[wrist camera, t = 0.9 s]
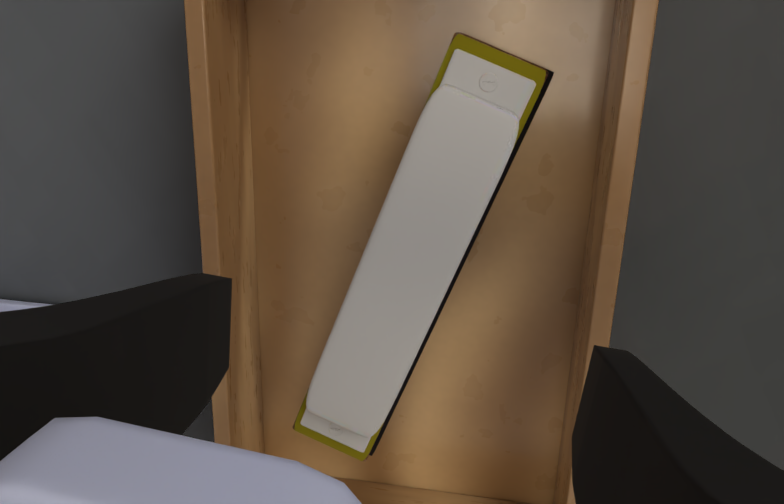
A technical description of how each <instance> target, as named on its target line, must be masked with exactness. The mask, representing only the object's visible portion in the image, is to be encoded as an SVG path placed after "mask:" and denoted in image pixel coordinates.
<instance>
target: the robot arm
mask: <svg viewBox="0 0 784 504" xmlns="http://www.w3.org/2000/svg"><path fill="white" fill-rule="evenodd" d="M231 299H232V278H227V277H222V276H216V275H211V274H205V273H201V274H191V275H185V276H180V277H176V278H171V279H167V280H163V281H159V282H154V283H150V284H146V285H142V286H138V287H134V288H130V289H126V290H122V291H118V292H114V293H109V294H104V295H100V296H95V297H91V298H86V299H81V300H77V301H72V302H67V303H61V304H55V305H54V304H44V303H34V302H24V301H15V300H5V299H0V504H362V503H361V502H360V501H359V500H358V499H357V497H356V496H355V495H354V494H353V493H352V491H351V490H350V489H349V488H348V487H347V486H346V484H345V483H343V482H341V481H339V480H337V479H335V478H332V477H330V476H328V475H326V474H324V473H322V472H320V471H317V470H315V469H313V468H311V467H309V466H307V465H304V464H302V463H300V462H298V461H294V460H290V459H285V458H281V457H276V456H272V455H267V454H263V453H258V452H254V451H249V450H245V449H240V448H236V447H232V446H227V445H223V444H218V443H214V442H209V441H205V440H200V439H196V438H191V437H187V436H182V434H183V433H184V432H185V430H186V429H187V428H188V427H189V426H190V424H191V423H192V422H193V421H194V420H195V418H196V417H197V416H198V415H199V414H200V412H201V411H202V410H203V409H204V407H205V406H206V405H207V403H208V402H209V400H210V399H211V397H212V396H213V394H214V392H215V391H216V389H217V388H218V386H219V384H220V382H221V381H222V379H223V377H224V376H225V374H226V372H227V370H228V369H229V360H230V329H231ZM572 483H573V490H574V496H575V502H576V504H784V471H783V470H781V469H780V468H778V467H776V466H775V465H773V464H772V463H770V462H768V461H767V460H765V459H764V458H762V457H761V456H759V455H758V454H756V453H755V452H753V451H751V450H750V449H748V448H747V447H745V446H744V445H742V444H741V443H739V442H738V441H737V440H735V439H734V438H732V437H731V436H730V435H728V434H727V433H726V432H724V431H723V430H722V429H720V428H719V427H718V426H716V425H715V424H714V423H713V422H711V421H710V420H709V419H707V418H706V417H705V416H703V415H702V414H701V413H700V412H699V411H697V410H696V409H695V408H694V407H692V406H691V405H690V404H689V403H688V402H687V401H685V400H684V399H683V398H682V397H681V396H680V395H678V394H677V393H676V392H675V391H674V390H673V389H672V388H670V387H669V386H668V385H667V384H666V383H665V382H664V381H663V380H662V379H660V378H659V377H658V376H657V375H656V374H655V373H654V372H653V371H652V370H650V369H649V368H648V367H647V366H646V365H645V364H644V363H642V362H641V361H640V360H639V359H638V358H637V357H635V356H634V355H633V354H631V353H630V352H628V351H624V350H618V349H613V348H608V347H602V346H597V345H594V347H593V351H592V355H591V359H590V364H589V368H588V372H587V376H586V380H585V384H584V388H583V392H582V396H581V401H580V405H579V409H578V413H577V417H576V421H575V425H574V429H573V433H572Z"/></svg>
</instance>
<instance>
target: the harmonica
mask: <svg viewBox="0 0 784 504" xmlns="http://www.w3.org/2000/svg"><path fill="white" fill-rule="evenodd" d="M553 74H554V72H553V71H550V70H548V69H545V68H543V67H541V66H538V65H536V64H534V63H531V62H529V61H527V60H524V59H522V58H520V57H517V56H515V55H513V54H510V53H508V52H506V51H503V50H501V49H499V48H496V47H494V46H492V45H489V44H487V43H485V42H482V41H480V40H478V39H475V38H473V37H471V36H468V35H466V34H464V33H460V32H456V33H454V35H453V38H452V40H451V43H450V45H449V48H448V50H447V52H446V55H445V57H444V60H443V62H442V65H441V67H440V69H439V72H438V74H437V77H436V79H435V82H434V84H433V86H432V89H431V91H430V94H429V96H428V99H427V101H426V104H425V106H424V108H423V111H422V113H421V115H420V117H419V120H418V122H417V124H416V126H415V128H414V131H413V133H412V135H411V138H410V140H409V143H408V145H407V147H406V150H405V152H404V155H403V157H402V160H401V162H400V164H399V167H398V169H397V172H396V174H395V177H394V179H393V182H392V184H391V186H390V189H389V191H388V194H387V196H386V199H385V201H384V203H383V206H382V208H381V211H380V213H379V216H378V218H377V221H376V223H375V225H374V228H373V230H372V233H371V235H370V238H369V240H368V243H367V245H366V247H365V250H364V252H363V255H362V257H361V260H360V262H359V265H358V267H357V269H356V272H355V274H354V277H353V279H352V282H351V284H350V286H349V289H348V291H347V294H346V296H345V299H344V301H343V304H342V306H341V308H340V311H339V313H338V316H337V318H336V321H335V323H334V326H333V328H332V330H331V333H330V335H329V338H328V340H327V343H326V345H325V348H324V350H323V352H322V355H321V357H320V360H319V362H318V365H317V367H316V370H315V372H314V375H313V378H312V380H311V383H310V386H309V388H308V390H307V393H306V395H305V398H304V400H303V403H302V405H301V407H300V410H299V412H298V415H297V417H296V420H295V422H294V424H293V429H294V430H295V431H297V432H299V433H301V434H303V435H306V436H308V437H310V438H312V439H314V440H317V441H319V442H321V443H323V444H325V445H327V446H330V447H332V448H334V449H336V450H338V451H341V452H343V453H345V454H347V455H349V456H351V457H354V458H356V459H358V460H360V461H366V460H367V458H368V456H369V455H370V456H372V455H373V453H374V452H375V450H376V448H377V446H378V444H379V442H380V440H381V438H382V435H383V433H384V431H385V429H386V427H387V425H388V423H389V421H390V419H391V417H392V414H393V412H394V410H395V408H396V406H397V404H398V402H399V400H400V398H401V396H402V393H403V391H404V389H405V387H406V385H407V383H408V381H409V379H410V377H411V375H412V372H413V370H414V368H415V366H416V364H417V362H418V360H419V358H420V356H421V354H422V351H423V349H424V347H425V345H426V343H427V341H428V339H429V337H430V335H431V333H432V330H433V328H434V326H435V324H436V322H437V320H438V318H439V316H440V314H441V312H442V309H443V307H444V305H445V303H446V301H447V299H448V297H449V295H450V293H451V290H452V288H453V286H454V284H455V282H456V280H457V278H458V276H459V274H460V272H461V269H462V267H463V265H464V263H465V261H466V259H467V257H468V255H469V253H470V251H471V248H472V246H473V244H474V242H475V240H476V238H477V236H478V234H479V232H480V230H481V227H482V225H483V223H484V221H485V219H486V217H487V215H488V213H489V211H490V209H491V206H492V204H493V202H494V200H495V198H496V196H497V194H498V192H499V190H500V188H501V185H502V183H503V181H504V179H505V177H506V175H507V173H508V171H509V169H510V167H511V164H512V162H513V160H514V158H515V156H516V154H517V152H518V150H519V148H520V146H521V143H522V141H523V139H524V137H525V135H526V133H527V131H528V129H529V127H530V125H531V122H532V120H533V118H534V116H535V114H536V112H537V110H538V108H539V106H540V104H541V101H542V99H543V97H544V95H545V93H546V91H547V89H548V86H549V84H550V82H551V79H552V77H553Z"/></svg>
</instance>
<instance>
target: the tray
mask: <svg viewBox="0 0 784 504" xmlns="http://www.w3.org/2000/svg"><path fill="white" fill-rule="evenodd" d="M658 3H659V0H184V8H185V22H186V36H187V51H188V65H189V80H190V94H191V108H192V123H193V137H194V152H195V166H196V180H197V195H198V209H199V224H200V238H201V252H202V267H203V273H205V274H211V275H216V276H222V277H227V278H232V299H231V329H230V360H229V369H228V370H227V372H226V374H225V376H224V377H223V379H222V381H221V382H220V384H219V386H218V388H217V389H216V391H215V392H214V394H213V396H212V411H213V425H214V440H215V443H218V444H223V445H227V446H232V447H236V448H240V449H245V450H249V451H254V452H258V453H263V454H267V455H272V456H276V457H281V458H285V459H290V460H294V461H298V462H300V463H302V464H304V465H307V466H309V467H311V468H313V469H315V470H317V471H320V472H322V473H324V474H326V475H328V476H330V477H332V478H335V479H337V480H339V481H341V482H343V483H345V484H346V486H347V487H348V488H349V489H350V490H351V491H352V493H353V494H354V495H355V496H356V497H357V499H358V500H359V501H360V502H361V503H362V504H576V502H575V496H574V490H573V483H572V433H573V429H574V425H575V421H576V417H577V413H578V409H579V405H580V401H581V396H582V392H583V388H584V384H585V380H586V376H587V372H588V368H589V364H590V359H591V355H592V351H593V347H594V345H597V346H602V347H608V348H609V342H610V335H611V328H612V321H613V314H614V307H615V300H616V294H617V287H618V280H619V273H620V266H621V259H622V252H623V245H624V238H625V231H626V224H627V218H628V211H629V204H630V197H631V190H632V183H633V176H634V169H635V162H636V155H637V148H638V141H639V135H640V128H641V121H642V114H643V107H644V100H645V93H646V86H647V79H648V72H649V65H650V59H651V52H652V45H653V38H654V31H655V24H656V17H657V10H658ZM456 32H460V33H464V34H466V35H468V36H471V37H473V38H475V39H478V40H480V41H482V42H485V43H487V44H489V45H492V46H494V47H496V48H499V49H501V50H503V51H506V52H508V53H510V54H513V55H515V56H517V57H520V58H522V59H524V60H527V61H529V62H531V63H534V64H536V65H538V66H541V67H543V68H545V69H548V70H550V71H553V72H554V74H553V77H552V79H551V82H550V84H549V86H548V89H547V91H546V93H545V95H544V97H543V99H542V101H541V104H540V106H539V108H538V110H537V112H536V114H535V116H534V118H533V120H532V122H531V125H530V127H529V129H528V131H527V133H526V135H525V137H524V139H523V141H522V143H521V146H520V148H519V150H518V152H517V154H516V156H515V158H514V160H513V162H512V164H511V167H510V169H509V171H508V173H507V175H506V177H505V179H504V181H503V183H502V185H501V188H500V190H499V192H498V194H497V196H496V198H495V200H494V202H493V204H492V206H491V209H490V211H489V213H488V215H487V217H486V219H485V221H484V223H483V225H482V227H481V230H480V232H479V234H478V236H477V238H476V240H475V242H474V244H473V246H472V248H471V251H470V253H469V255H468V257H467V259H466V261H465V263H464V265H463V267H462V269H461V272H460V274H459V276H458V278H457V280H456V282H455V284H454V286H453V288H452V290H451V293H450V295H449V297H448V299H447V301H446V303H445V305H444V307H443V309H442V312H441V314H440V316H439V318H438V320H437V322H436V324H435V326H434V328H433V330H432V333H431V335H430V337H429V339H428V341H427V343H426V345H425V347H424V349H423V351H422V354H421V356H420V358H419V360H418V362H417V364H416V366H415V368H414V370H413V372H412V375H411V377H410V379H409V381H408V383H407V385H406V387H405V389H404V391H403V393H402V396H401V398H400V400H399V402H398V404H397V406H396V408H395V410H394V412H393V414H392V417H391V419H390V421H389V423H388V425H387V427H386V429H385V431H384V433H383V435H382V438H381V440H380V442H379V444H378V446H377V448H376V450H375V452H374V453H373V455H372V456H370V455H369V456H368V458H367V460H366V461H360V460H358V459H356V458H354V457H351V456H349V455H347V454H345V453H343V452H341V451H338V450H336V449H334V448H332V447H330V446H327V445H325V444H323V443H321V442H319V441H317V440H314V439H312V438H310V437H308V436H306V435H303V434H301V433H299V432H297V431H295V430H294V429H293V424H294V422H295V420H296V417H297V415H298V412H299V410H300V407H301V405H302V403H303V400H304V398H305V395H306V393H307V390H308V388H309V386H310V383H311V380H312V378H313V375H314V372H315V370H316V367H317V365H318V362H319V360H320V357H321V355H322V352H323V350H324V348H325V345H326V343H327V340H328V338H329V335H330V333H331V330H332V328H333V326H334V323H335V321H336V318H337V316H338V313H339V311H340V308H341V306H342V304H343V301H344V299H345V296H346V294H347V291H348V289H349V286H350V284H351V282H352V279H353V277H354V274H355V272H356V269H357V267H358V265H359V262H360V260H361V257H362V255H363V252H364V250H365V247H366V245H367V243H368V240H369V238H370V235H371V233H372V230H373V228H374V225H375V223H376V221H377V218H378V216H379V213H380V211H381V208H382V206H383V203H384V201H385V199H386V196H387V194H388V191H389V189H390V186H391V184H392V182H393V179H394V177H395V174H396V172H397V169H398V167H399V164H400V162H401V160H402V157H403V155H404V152H405V150H406V147H407V145H408V143H409V140H410V138H411V135H412V133H413V131H414V128H415V126H416V124H417V122H418V120H419V117H420V115H421V113H422V111H423V108H424V106H425V104H426V101H427V99H428V96H429V94H430V91H431V89H432V86H433V84H434V82H435V79H436V77H437V74H438V72H439V69H440V67H441V65H442V62H443V60H444V57H445V55H446V52H447V50H448V48H449V45H450V43H451V40H452V38H453V35H454V33H456Z"/></svg>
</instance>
